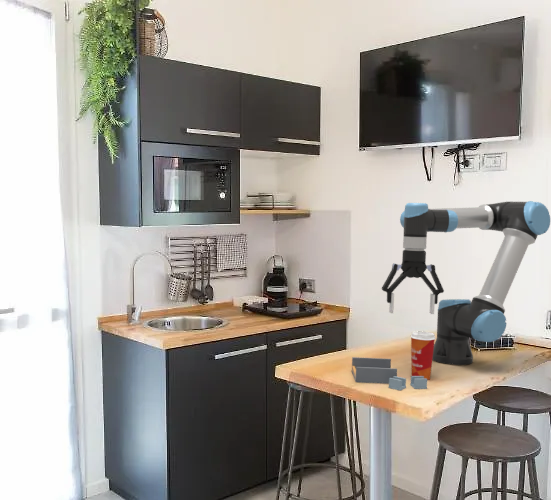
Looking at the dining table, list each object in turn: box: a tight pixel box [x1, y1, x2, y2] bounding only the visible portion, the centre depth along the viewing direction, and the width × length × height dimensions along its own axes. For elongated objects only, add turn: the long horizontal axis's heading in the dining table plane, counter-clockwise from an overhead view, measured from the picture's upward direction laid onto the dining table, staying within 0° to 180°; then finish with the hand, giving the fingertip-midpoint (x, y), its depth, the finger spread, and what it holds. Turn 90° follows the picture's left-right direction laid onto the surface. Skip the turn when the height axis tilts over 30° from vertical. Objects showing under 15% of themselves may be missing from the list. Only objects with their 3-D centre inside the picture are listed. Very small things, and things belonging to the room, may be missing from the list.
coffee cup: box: [409, 330, 437, 381], centre depth 200 cm, size 8×8×15 cm
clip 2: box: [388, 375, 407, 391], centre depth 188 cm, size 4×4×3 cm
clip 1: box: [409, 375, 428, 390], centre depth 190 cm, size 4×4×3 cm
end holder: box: [351, 356, 398, 385], centre depth 199 cm, size 13×14×5 cm
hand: (411, 313), depth 201 cm, fingers open, 13 cm apart
